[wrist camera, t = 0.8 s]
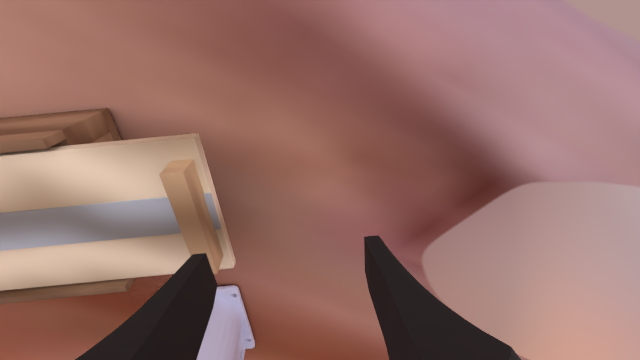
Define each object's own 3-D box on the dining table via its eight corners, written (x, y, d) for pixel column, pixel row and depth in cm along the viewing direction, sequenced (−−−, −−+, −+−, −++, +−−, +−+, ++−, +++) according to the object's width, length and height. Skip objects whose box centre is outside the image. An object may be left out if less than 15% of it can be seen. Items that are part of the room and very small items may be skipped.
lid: (235, 260, 21) (228, 286, 19) (6, 282, 21) (-26, 311, 19) (198, 133, 16) (183, 149, 14) (-96, 160, 16) (-151, 181, 14)
